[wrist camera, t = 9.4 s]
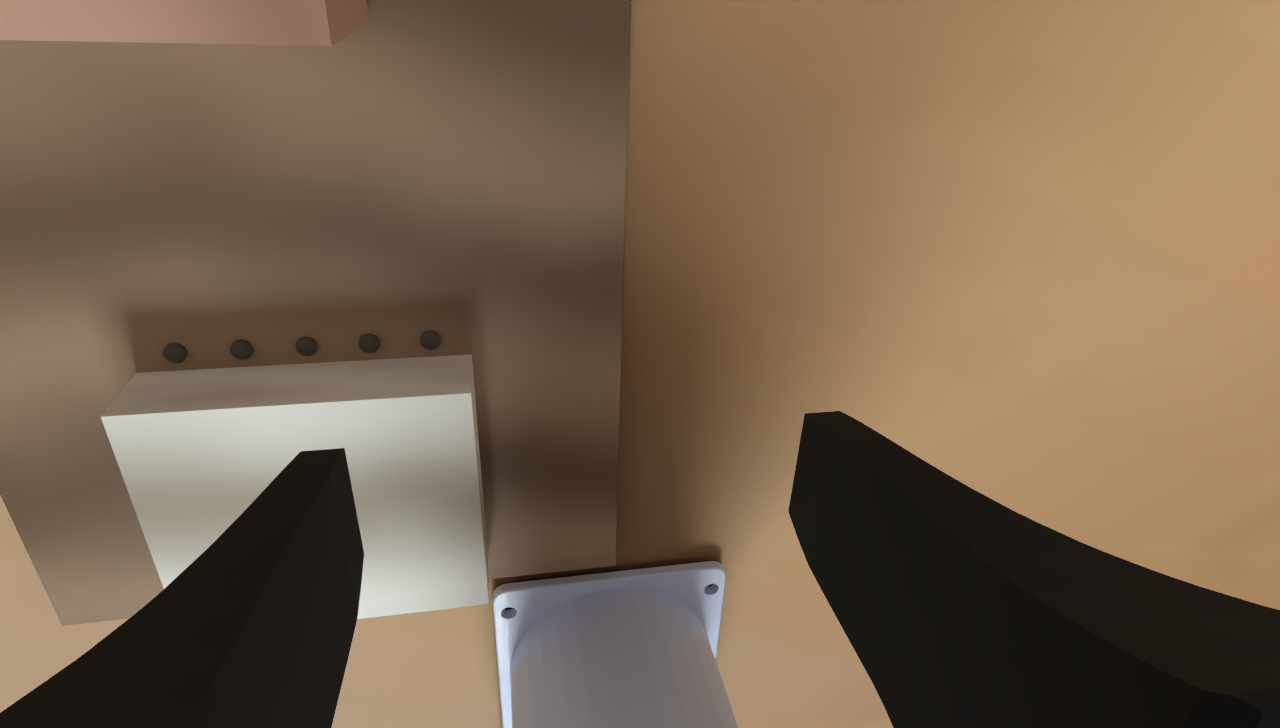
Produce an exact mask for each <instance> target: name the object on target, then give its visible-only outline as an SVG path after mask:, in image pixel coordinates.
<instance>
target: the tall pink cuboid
mask: <svg viewBox="0 0 1280 728" xmlns="http://www.w3.org/2000/svg"><path fill="white" fill-rule="evenodd" d="M367 23H369V19H368V12H367V4H366V0H0V40H25V41H80V42H136V43H192V44H247V45H303V46H332V45H334V44H336V43H337V42H339V41H340V40H342V39H343V38H345V37H347V36H348V35H350V34H351V33H353V32H354V31H356V30H358V29H359V28H361V27H362V26H364V25H365V24H367Z"/></svg>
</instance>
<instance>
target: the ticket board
mask: <svg viewBox="0 0 1280 728" xmlns="http://www.w3.org/2000/svg"><path fill="white" fill-rule="evenodd" d="M366 4H367V12H368V19H369V23H367V24H365V25H364V26H362V27H361V28H359V29H358V30H356V31H354V32H353V33H351V34H350V35H348V36H347V37H345V38H343V39H342V40H340V41H339V42H337V43H336V44H334V45H332V46H303V45H247V44H192V43H136V42H80V41H25V40H0V495H1V497H2V499H3V501H4V503H5V505H6V507H7V510H8V512H9V514H10V516H11V518H12V520H13V522H14V524H15V526H16V529H17V531H18V533H19V535H20V537H21V539H22V541H23V543H24V546H25V548H26V550H27V552H28V554H29V556H30V558H31V560H32V563H33V565H34V567H35V569H36V571H37V573H38V575H39V577H40V579H41V582H42V584H43V586H44V588H45V590H46V592H47V594H48V596H49V599H50V601H51V603H52V605H53V607H54V609H55V611H56V613H57V616H58V618H59V620H60V622H61V624H62V626H63V625H72V624H81V623H90V622H99V621H109V620H118V619H127V618H131V617H132V616H133V615H134V614H136V613H137V612H138V611H139V610H140V609H142V608H143V607H144V606H145V605H146V604H148V603H149V602H150V601H151V600H152V599H153V598H154V597H156V596H157V595H158V594H159V593H160V592H161V591H163V590H164V589H165V588H166V587H167V586H168V585H169V584H170V583H171V582H172V581H173V580H174V579H175V578H176V577H178V576H179V575H180V574H181V573H182V572H183V571H184V570H185V569H186V568H187V567H188V566H189V565H190V564H192V563H193V562H194V561H195V560H196V559H197V558H198V557H199V556H200V555H201V554H202V553H203V552H204V551H206V550H207V549H208V548H209V547H210V546H211V545H212V544H213V543H214V542H215V541H216V540H217V539H218V537H219V536H220V535H221V534H222V533H223V532H224V531H225V530H226V529H227V528H228V527H229V526H230V525H231V524H232V523H233V522H234V521H235V520H236V519H237V518H238V517H239V516H240V515H241V514H242V513H243V512H244V511H245V510H246V509H247V508H248V507H249V506H250V504H251V503H252V502H253V501H254V500H255V499H256V498H257V497H258V496H259V495H260V494H261V493H262V492H263V491H264V490H265V488H266V487H267V486H268V485H269V484H270V483H271V482H272V481H273V480H274V479H275V478H276V477H277V476H278V474H279V473H280V472H281V471H282V470H283V469H284V468H285V467H286V466H287V465H288V464H289V463H290V462H291V461H292V460H293V459H294V458H295V457H296V456H297V455H298V454H299V453H300V452H301V451H312V450H326V449H339V448H345V454H346V459H347V464H348V470H349V475H350V480H351V486H352V491H353V496H354V502H355V507H356V512H357V518H358V523H359V529H360V534H361V539H362V545H363V550H364V561H363V571H362V582H361V591H360V600H359V609H358V616H357V619H362V618H371V617H379V616H388V615H397V614H406V613H414V612H423V611H432V610H441V609H449V608H458V607H467V606H476V605H484V604H489V580H488V579H496V578H505V577H515V576H524V575H533V574H542V573H551V572H561V571H570V570H579V569H588V568H598V567H607V566H616V533H617V496H618V459H619V422H620V385H621V348H622V310H623V273H624V236H625V199H626V162H627V125H628V88H629V51H630V14H631V0H366Z"/></svg>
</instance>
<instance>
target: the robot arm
mask: <svg viewBox="0 0 1280 728" xmlns="http://www.w3.org/2000/svg"><path fill="white" fill-rule="evenodd" d="M789 514H790V517H791V520H792V523H793V525H794V528H795V531H796V534H797V537H798V539H799V542H800V545H801V547H802V550H803V552H804V555H805V557H806V560H807V562H808V565H809V567H810V568H811V570H812V572H813V574H814V576H815V578H816V580H817V582H818V584H819V585H820V587H821V589H822V591H823V593H824V595H825V597H826V598H827V600H828V602H829V604H830V606H831V608H832V610H833V611H834V613H835V615H836V617H837V619H838V620H839V622H840V624H841V626H842V628H843V629H844V631H845V633H846V635H847V637H848V639H849V640H850V642H851V644H852V646H853V648H854V649H855V651H856V653H857V655H858V657H859V658H860V660H861V662H862V664H863V666H864V668H865V669H866V671H867V673H868V675H869V677H870V678H871V680H872V682H873V684H874V686H875V688H876V690H877V692H878V694H879V696H880V698H881V700H882V702H883V704H884V706H885V709H886V711H887V713H888V716H889V718H890V720H891V723H892V725H893V727H894V728H1280V610H1276V609H1272V608H1269V607H1265V606H1261V605H1258V604H1254V603H1251V602H1248V601H1244V600H1241V599H1238V598H1235V597H1231V596H1228V595H1225V594H1222V593H1218V592H1215V591H1212V590H1209V589H1205V588H1202V587H1199V586H1196V585H1193V584H1190V583H1187V582H1184V581H1181V580H1178V579H1175V578H1172V577H1169V576H1166V575H1164V574H1161V573H1158V572H1155V571H1153V570H1150V569H1147V568H1145V567H1142V566H1139V565H1137V564H1134V563H1131V562H1129V561H1126V560H1123V559H1121V558H1118V557H1116V556H1113V555H1110V554H1108V553H1105V552H1103V551H1100V550H1098V549H1095V548H1093V547H1091V546H1088V545H1086V544H1083V543H1081V542H1079V541H1076V540H1074V539H1072V538H1070V537H1068V536H1066V535H1063V534H1061V533H1059V532H1057V531H1055V530H1052V529H1050V528H1048V527H1046V526H1044V525H1041V524H1039V523H1037V522H1035V521H1033V520H1031V519H1029V518H1027V517H1025V516H1023V515H1021V514H1018V513H1016V512H1014V511H1013V510H1011V509H1009V508H1007V507H1005V506H1003V505H1001V504H999V503H997V502H996V501H994V500H992V499H990V498H988V497H986V496H984V495H983V494H981V493H979V492H977V491H975V490H973V489H971V488H970V487H968V486H966V485H964V484H963V483H961V482H959V481H957V480H956V479H954V478H952V477H950V476H949V475H947V474H945V473H944V472H942V471H940V470H938V469H937V468H935V467H933V466H932V465H930V464H928V463H927V462H925V461H923V460H922V459H920V458H919V457H917V456H915V455H914V454H912V453H910V452H909V451H907V450H905V449H904V448H902V447H901V446H899V445H897V444H896V443H894V442H892V441H891V440H889V439H888V438H886V437H884V436H883V435H881V434H879V433H878V432H876V431H874V430H873V429H871V428H869V427H868V426H866V425H864V424H863V423H861V422H859V421H857V420H856V419H854V418H852V417H850V416H848V415H846V414H844V413H842V412H840V411H835V412H822V413H808V414H805V416H804V422H803V428H802V434H801V440H800V446H799V452H798V458H797V464H796V470H795V476H794V482H793V488H792V494H791V500H790V506H789ZM363 561H364V550H363V545H362V539H361V534H360V529H359V523H358V518H357V512H356V507H355V502H354V496H353V491H352V486H351V480H350V475H349V470H348V464H347V459H346V454H345V448H339V449H326V450H312V451H301V452H300V453H299V454H298V455H297V456H296V457H295V458H294V459H293V460H292V461H291V462H290V463H289V464H288V465H287V466H286V467H285V468H284V469H283V470H282V471H281V472H280V473H279V474H278V476H277V477H276V478H275V479H274V480H273V481H272V482H271V483H270V484H269V485H268V486H267V487H266V488H265V490H264V491H263V492H262V493H261V494H260V495H259V496H258V497H257V498H256V499H255V500H254V501H253V502H252V503H251V504H250V506H249V507H248V508H247V509H246V510H245V511H244V512H243V513H242V514H241V515H240V516H239V517H238V518H237V519H236V520H235V521H234V522H233V523H232V524H231V525H230V526H229V527H228V528H227V529H226V530H225V531H224V532H223V533H222V534H221V535H220V536H219V537H218V539H217V540H216V541H215V542H214V543H213V544H212V545H211V546H210V547H209V548H208V549H207V550H206V551H204V552H203V553H202V554H201V555H200V556H199V557H198V558H197V559H196V560H195V561H194V562H193V563H192V564H190V565H189V566H188V567H187V568H186V569H185V570H184V571H183V572H182V573H181V574H180V575H179V576H178V577H176V578H175V579H174V580H173V581H172V582H171V583H170V584H169V585H168V586H167V587H166V588H165V589H164V590H163V591H161V592H160V593H159V594H158V595H157V596H156V597H154V598H153V599H152V600H151V601H150V602H149V603H148V604H146V605H145V606H144V607H143V608H142V609H140V610H139V611H138V612H137V613H136V614H134V615H133V616H132V617H131V618H130V619H128V620H127V621H126V622H125V623H123V624H122V625H121V626H119V627H118V628H117V629H116V630H114V631H113V632H112V633H111V634H109V635H108V636H107V637H105V638H104V639H103V640H102V641H100V642H99V643H98V644H97V645H95V646H94V647H93V648H92V649H90V650H89V651H88V652H86V653H85V654H84V655H82V656H81V657H80V658H78V659H77V660H76V661H74V662H73V663H71V664H70V665H68V666H67V667H66V668H64V669H63V670H61V671H60V672H58V673H57V674H56V675H54V676H53V677H51V678H50V679H48V680H47V681H46V682H44V683H43V684H41V685H40V686H38V687H37V688H36V689H34V690H33V691H31V692H30V693H28V694H27V695H25V696H24V697H23V698H21V699H20V700H18V701H17V702H15V703H14V704H13V705H11V706H10V707H8V708H7V709H5V710H4V711H3V712H1V713H0V728H331V726H332V722H333V718H334V714H335V710H336V705H337V701H338V697H339V693H340V689H341V685H342V681H343V676H344V672H345V668H346V664H347V660H348V655H349V651H350V647H351V643H352V638H353V634H354V630H355V625H356V621H357V616H358V609H359V600H360V591H361V582H362V571H363ZM725 580H726V573H725V570H724V568H723V566H722V564H721V563H719V562H717V561H707V562H697V563H688V564H679V565H670V566H661V567H652V568H643V569H634V570H625V571H616V572H606V573H597V574H588V575H579V576H570V577H561V578H552V579H543V580H534V581H525V582H515V583H507V584H503V585H500V586H499V587H497V588H496V589H495V590H494V592H493V596H492V597H493V614H494V626H495V638H496V651H497V663H498V675H499V688H500V700H501V712H502V725H503V728H738V726H737V723H736V720H735V717H734V714H733V711H732V708H731V705H730V702H729V699H728V696H727V693H726V690H725V687H724V684H723V681H722V678H721V675H720V672H719V669H718V666H717V663H716V653H717V645H718V637H719V629H720V621H721V612H722V604H723V596H724V588H725ZM710 584H713V585H712V586H709V587H706V586H708V585H710ZM508 607H510V608H513V609H510V610H504V609H505V608H508Z"/></svg>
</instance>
